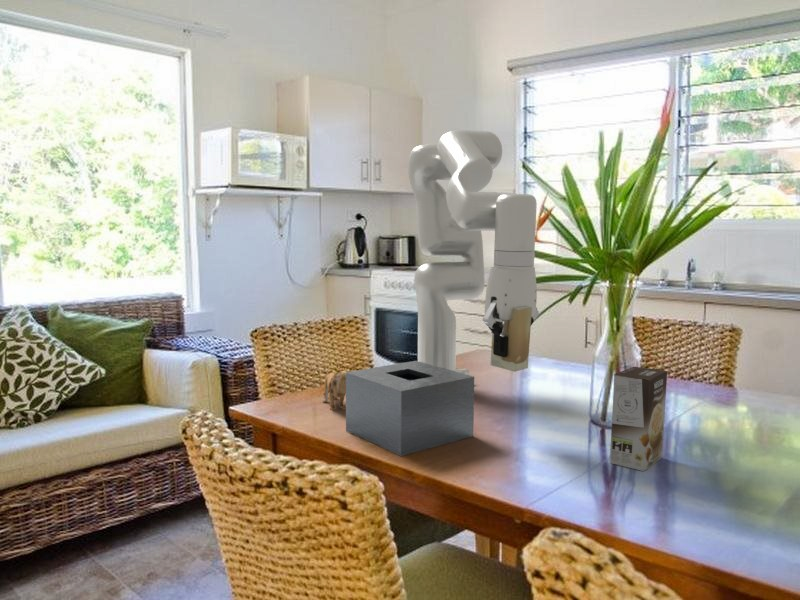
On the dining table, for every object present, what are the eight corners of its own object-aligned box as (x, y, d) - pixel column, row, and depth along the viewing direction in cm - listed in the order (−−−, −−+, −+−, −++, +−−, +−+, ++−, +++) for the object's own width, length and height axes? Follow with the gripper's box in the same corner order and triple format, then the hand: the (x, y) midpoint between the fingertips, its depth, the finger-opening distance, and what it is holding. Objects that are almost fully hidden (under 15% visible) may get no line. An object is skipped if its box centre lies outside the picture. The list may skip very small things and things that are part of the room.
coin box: (415, 414, 146) (415, 360, 145) (473, 436, 132) (474, 376, 130) (346, 430, 135) (345, 372, 134) (401, 456, 121) (401, 391, 119)
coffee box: (645, 472, 114) (650, 379, 112) (608, 463, 118) (612, 374, 116) (663, 457, 121) (668, 370, 119) (628, 449, 125) (632, 365, 123)
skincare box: (489, 366, 131) (491, 304, 129) (502, 362, 134) (505, 301, 132) (516, 372, 126) (519, 308, 124) (529, 368, 129) (532, 306, 127)
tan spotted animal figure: (358, 411, 148) (357, 371, 147) (335, 414, 146) (335, 374, 145) (333, 395, 161) (333, 359, 160) (312, 398, 159) (312, 361, 158)
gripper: (528, 256, 135) (524, 344, 138) (467, 260, 125) (464, 356, 128) (558, 259, 129) (553, 351, 132) (496, 264, 119) (493, 364, 122)
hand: (510, 352), depth 130 cm, fingers closed on skincare box, 4 cm apart
